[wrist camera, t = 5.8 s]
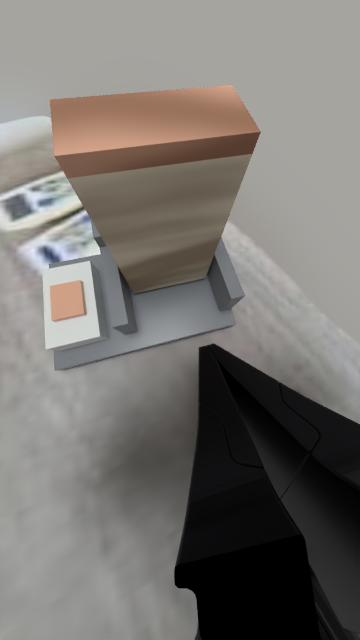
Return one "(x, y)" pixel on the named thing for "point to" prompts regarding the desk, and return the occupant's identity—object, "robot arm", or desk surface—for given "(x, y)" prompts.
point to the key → (156, 174)
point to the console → (129, 308)
